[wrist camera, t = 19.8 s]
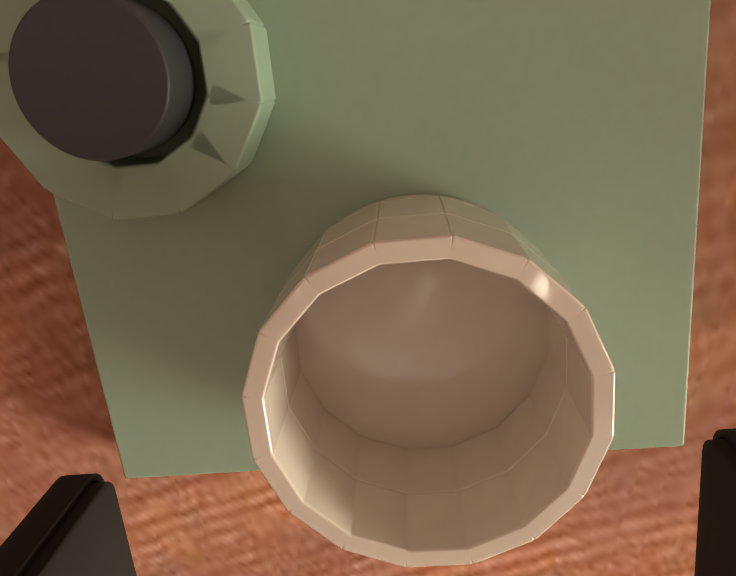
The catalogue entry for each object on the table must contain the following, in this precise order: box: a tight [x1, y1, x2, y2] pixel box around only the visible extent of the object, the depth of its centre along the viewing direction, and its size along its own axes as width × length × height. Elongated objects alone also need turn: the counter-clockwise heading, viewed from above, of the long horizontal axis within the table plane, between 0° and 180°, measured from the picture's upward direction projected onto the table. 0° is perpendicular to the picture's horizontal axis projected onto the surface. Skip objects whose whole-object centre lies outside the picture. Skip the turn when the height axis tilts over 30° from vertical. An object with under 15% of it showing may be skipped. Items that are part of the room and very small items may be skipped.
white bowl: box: [242, 194, 615, 567], centre depth 15 cm, size 7×7×4 cm
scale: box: [0, 0, 711, 478], centre depth 16 cm, size 16×14×3 cm
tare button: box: [8, 0, 196, 161], centre depth 13 cm, size 3×3×2 cm
